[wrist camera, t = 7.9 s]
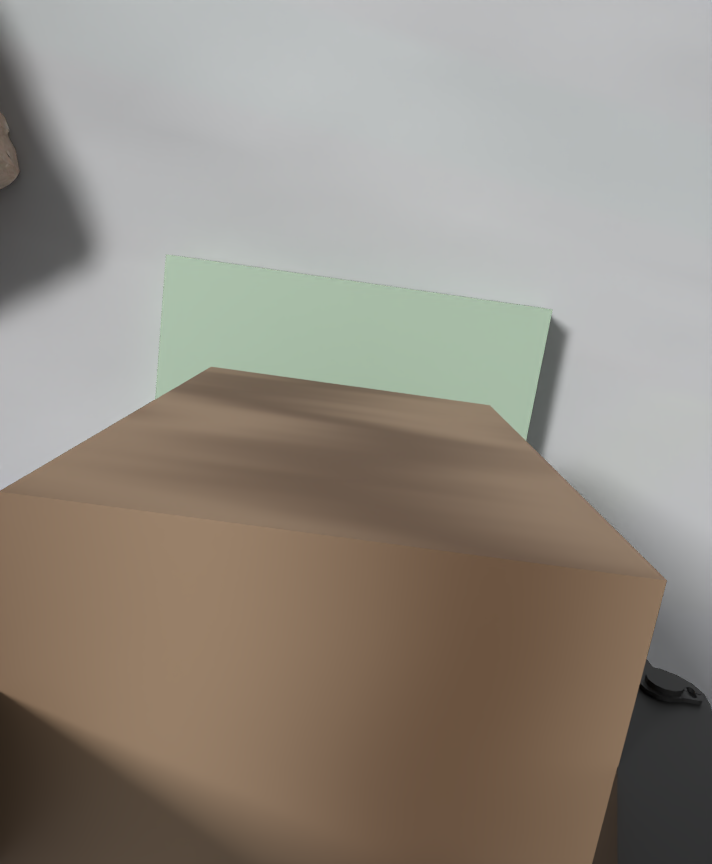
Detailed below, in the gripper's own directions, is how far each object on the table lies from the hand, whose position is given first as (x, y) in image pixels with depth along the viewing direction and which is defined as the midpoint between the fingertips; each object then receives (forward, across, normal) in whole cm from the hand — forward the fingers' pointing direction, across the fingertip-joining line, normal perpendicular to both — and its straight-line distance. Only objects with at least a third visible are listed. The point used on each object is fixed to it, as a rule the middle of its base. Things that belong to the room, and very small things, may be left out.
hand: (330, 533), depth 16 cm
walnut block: (+1, 0, 0) cm, 1 cm away
